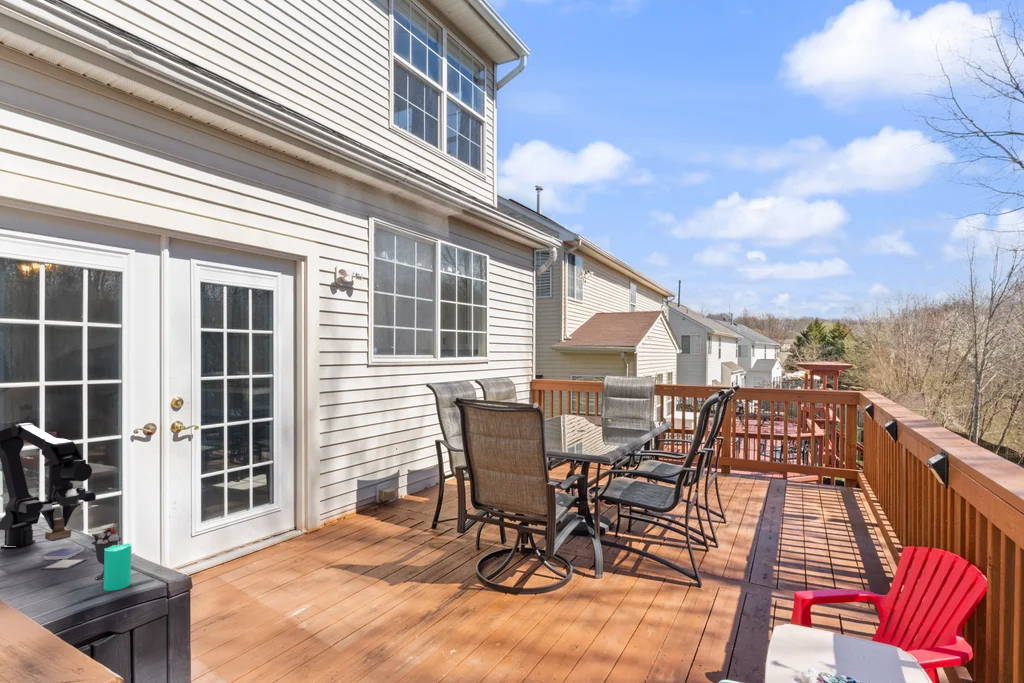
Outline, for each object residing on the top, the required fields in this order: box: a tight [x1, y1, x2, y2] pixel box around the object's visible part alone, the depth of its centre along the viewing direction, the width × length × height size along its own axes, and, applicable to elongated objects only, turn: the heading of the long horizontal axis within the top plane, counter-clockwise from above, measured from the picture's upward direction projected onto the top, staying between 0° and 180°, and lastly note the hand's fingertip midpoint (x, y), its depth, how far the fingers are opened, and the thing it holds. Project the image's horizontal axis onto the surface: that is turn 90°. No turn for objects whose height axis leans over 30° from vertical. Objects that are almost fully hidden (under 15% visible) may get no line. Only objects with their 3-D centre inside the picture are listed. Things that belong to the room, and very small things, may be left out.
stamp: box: [44, 517, 72, 542], centre depth 175 cm, size 5×5×6 cm
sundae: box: [91, 521, 122, 579], centre depth 152 cm, size 7×7×15 cm
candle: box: [103, 541, 132, 592], centre depth 145 cm, size 6×6×12 cm
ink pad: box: [43, 547, 85, 561], centre depth 169 cm, size 7×7×1 cm
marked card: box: [40, 558, 87, 570], centre depth 161 cm, size 8×8×1 cm
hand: (58, 528), depth 175 cm, fingers closed on stamp, 3 cm apart
